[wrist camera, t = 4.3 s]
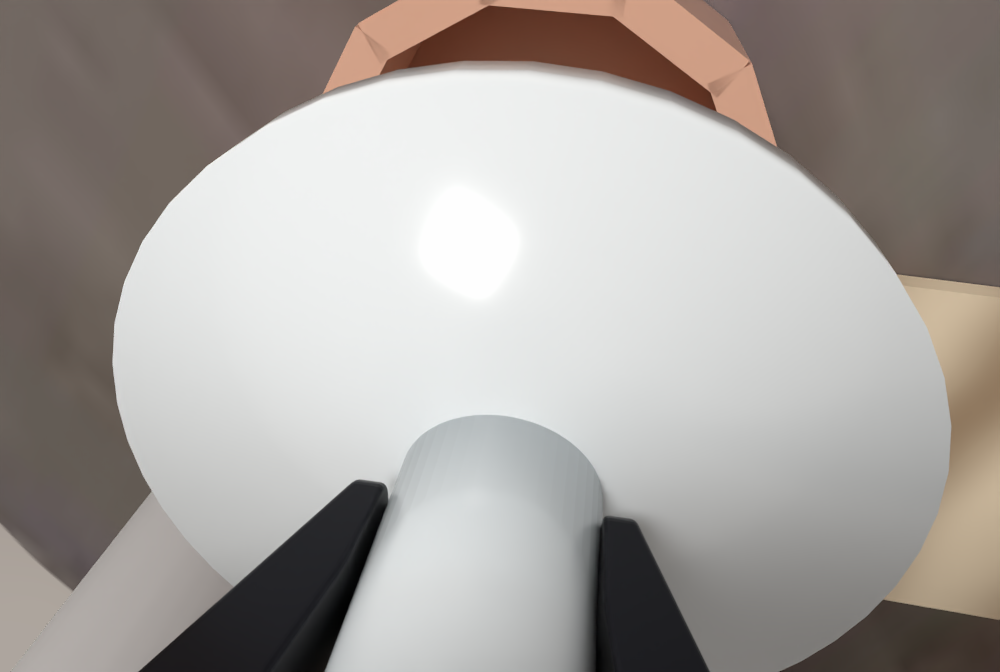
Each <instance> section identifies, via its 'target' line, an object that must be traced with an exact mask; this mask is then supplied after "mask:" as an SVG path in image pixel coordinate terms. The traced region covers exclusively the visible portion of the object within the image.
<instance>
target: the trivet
mask: <svg viewBox="0 0 1000 672" xmlns="http://www.w3.org/2000/svg"><path fill="white" fill-rule="evenodd" d="M896 275H897V274H896ZM897 276H898V278H899V280H900V281H901V283H902V285H903V287H904V288H905V290H906V292H907V294H908V295H909V297H910V299H911V301H912V302H913V304H914V306H915V307H916V309H917V311H918V313H919V314H920V316H921V318H922V320H923V321H924V323H925V325H926V327H927V329H928V332H929V335H930V337H931V340H932V343H933V346H934V349H935V352H936V355H937V357H938V360H939V363H940V366H941V369H942V372H943V375H944V378H945V385H946V392H947V399H948V406H949V413H950V420H951V441H950V458H949V472H948V476H947V480H946V484H945V488H944V492H943V495H942V499H941V503H940V507H939V511H938V514H937V516H936V519H935V521H934V523H933V525H932V527H931V529H930V531H929V533H928V536H927V538H926V540H925V542H924V544H923V546H922V548H921V550H920V552H919V554H918V555H917V557H916V558H915V560H914V561H913V562H912V564H911V565H910V567H909V568H908V570H907V571H906V572H905V574H904V575H903V577H902V578H901V579H900V581H899V582H898V584H897V585H896V586H895V587H894V589H893V590H892V591H891V592H890V593H889V594H888V595H887V596H886V597H885V598H884V599H883V600H889V601H894V602H900V603H906V604H912V605H917V606H923V607H929V608H934V609H940V610H946V611H951V612H957V613H963V614H969V615H974V616H980V617H986V618H991V619H997V620H1000V287H993V286H985V285H977V284H969V283H961V282H953V281H945V280H937V279H929V278H921V277H913V276H905V275H897Z"/></svg>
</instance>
